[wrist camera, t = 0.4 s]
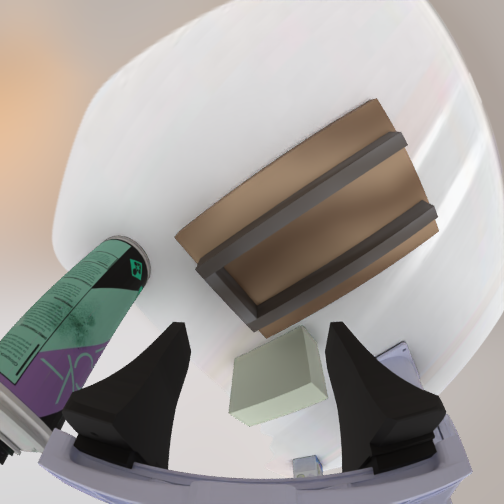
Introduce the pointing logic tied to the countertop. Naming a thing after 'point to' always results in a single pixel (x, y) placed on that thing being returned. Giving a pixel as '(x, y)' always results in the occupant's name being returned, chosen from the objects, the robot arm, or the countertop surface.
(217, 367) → the countertop surface
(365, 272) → the door track
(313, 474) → the medicine box
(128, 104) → the countertop surface
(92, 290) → the spray can
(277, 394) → the pale green block
